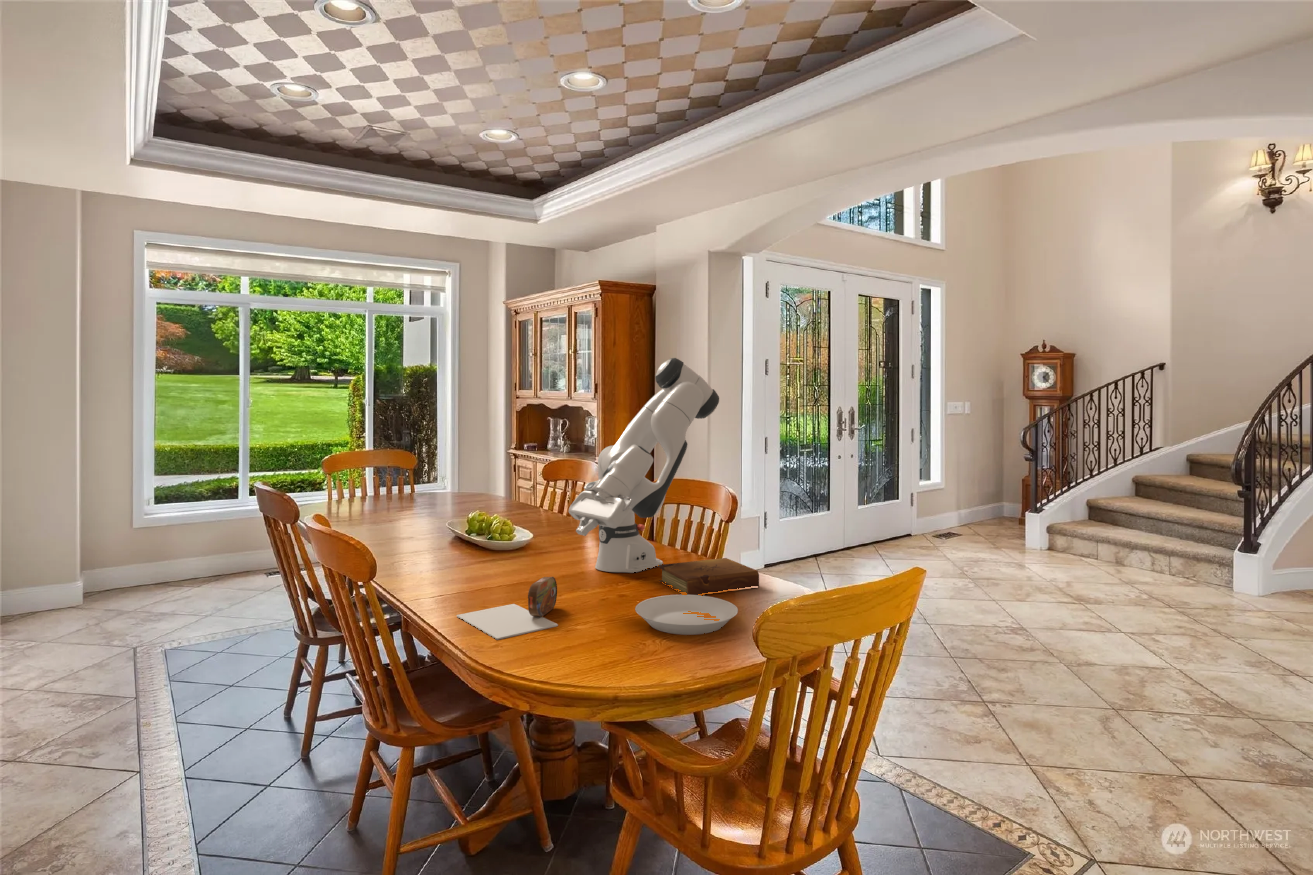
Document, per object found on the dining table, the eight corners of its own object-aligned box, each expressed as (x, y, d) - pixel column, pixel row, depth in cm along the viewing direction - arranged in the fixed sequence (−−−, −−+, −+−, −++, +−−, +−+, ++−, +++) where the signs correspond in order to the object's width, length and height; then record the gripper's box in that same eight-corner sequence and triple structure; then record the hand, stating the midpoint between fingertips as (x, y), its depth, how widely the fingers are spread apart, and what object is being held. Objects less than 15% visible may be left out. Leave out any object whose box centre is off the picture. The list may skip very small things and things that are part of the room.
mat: (514, 605, 189) (514, 603, 189) (558, 625, 172) (558, 624, 172) (456, 616, 179) (456, 615, 179) (496, 639, 162) (496, 638, 162)
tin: (537, 620, 174) (538, 586, 174) (524, 619, 175) (526, 585, 175) (557, 605, 189) (559, 573, 189) (546, 604, 190) (547, 572, 189)
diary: (687, 600, 197) (687, 579, 197) (658, 584, 214) (658, 564, 214) (759, 590, 207) (759, 570, 206) (725, 575, 224) (726, 557, 223)
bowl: (620, 614, 182) (620, 600, 182) (708, 603, 192) (708, 590, 192) (659, 646, 159) (659, 630, 159) (757, 632, 169) (757, 617, 169)
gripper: (641, 506, 187) (610, 547, 181) (596, 497, 203) (566, 535, 197) (627, 490, 184) (595, 531, 178) (583, 482, 200) (552, 520, 194)
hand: (580, 533), depth 188 cm, fingers closed
